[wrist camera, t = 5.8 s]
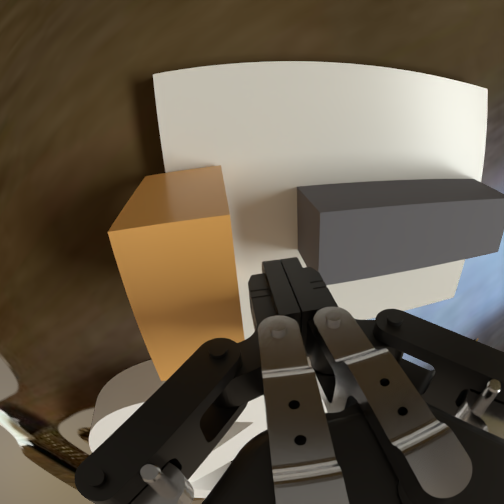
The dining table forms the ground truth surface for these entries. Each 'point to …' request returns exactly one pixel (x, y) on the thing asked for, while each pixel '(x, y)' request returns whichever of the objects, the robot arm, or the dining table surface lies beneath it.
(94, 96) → the dining table surface
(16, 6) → the dining table surface
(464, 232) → the long grey rectangular bar
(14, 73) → the dining table surface
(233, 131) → the mat
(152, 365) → the ring with crossbar
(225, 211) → the orange arch block
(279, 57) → the dining table surface
